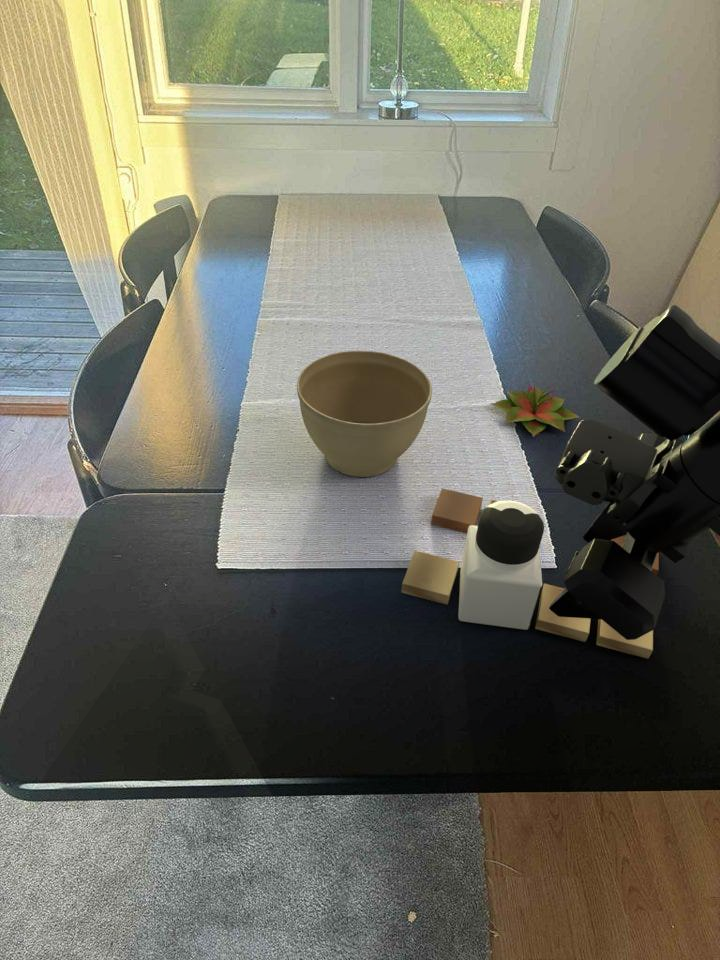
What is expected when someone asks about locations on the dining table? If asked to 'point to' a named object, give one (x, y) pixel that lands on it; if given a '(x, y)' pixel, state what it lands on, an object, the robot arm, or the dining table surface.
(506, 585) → the medicine bottle
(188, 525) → the dining table surface
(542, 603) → the set of tan blocks
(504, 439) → the dining table surface
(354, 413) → the planter bowl
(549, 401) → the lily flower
